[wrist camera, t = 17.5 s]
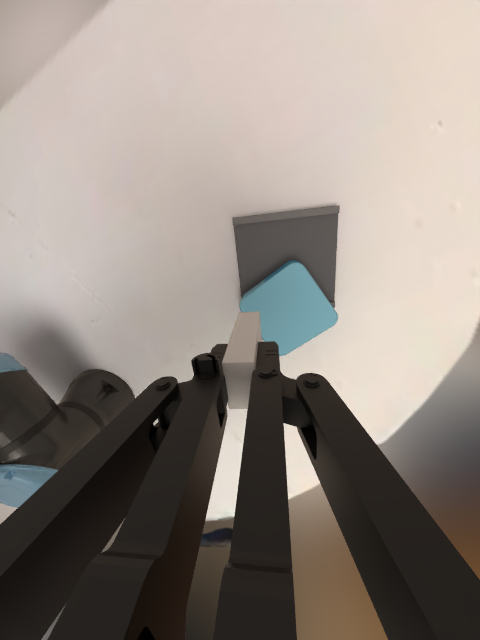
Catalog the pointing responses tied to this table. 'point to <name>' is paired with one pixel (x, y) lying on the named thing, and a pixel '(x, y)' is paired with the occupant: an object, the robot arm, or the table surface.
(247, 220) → the dark gray square slab
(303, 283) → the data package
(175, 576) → the robot arm
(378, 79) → the table surface
